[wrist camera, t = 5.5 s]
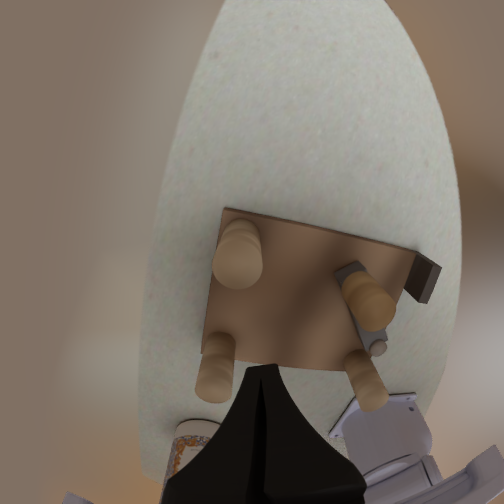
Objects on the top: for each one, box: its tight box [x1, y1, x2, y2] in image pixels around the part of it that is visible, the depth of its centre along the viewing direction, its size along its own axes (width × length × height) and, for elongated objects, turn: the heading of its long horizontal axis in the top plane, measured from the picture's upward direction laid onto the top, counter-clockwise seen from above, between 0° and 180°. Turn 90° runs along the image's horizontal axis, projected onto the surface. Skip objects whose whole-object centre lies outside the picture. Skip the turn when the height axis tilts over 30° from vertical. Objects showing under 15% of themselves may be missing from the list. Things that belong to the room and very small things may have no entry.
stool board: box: [195, 208, 442, 412], centre depth 18 cm, size 16×12×6 cm
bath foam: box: [159, 420, 220, 504], centre depth 17 cm, size 7×7×20 cm
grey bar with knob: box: [334, 261, 396, 357], centre depth 17 cm, size 8×2×5 cm, turn 28°
